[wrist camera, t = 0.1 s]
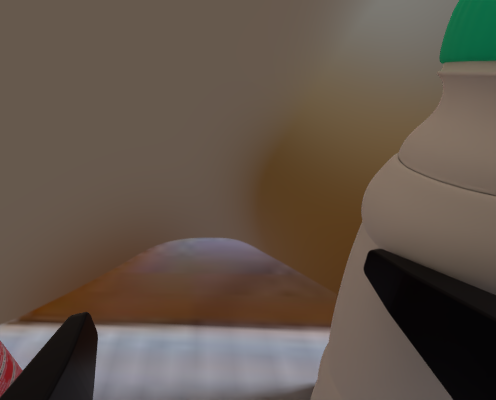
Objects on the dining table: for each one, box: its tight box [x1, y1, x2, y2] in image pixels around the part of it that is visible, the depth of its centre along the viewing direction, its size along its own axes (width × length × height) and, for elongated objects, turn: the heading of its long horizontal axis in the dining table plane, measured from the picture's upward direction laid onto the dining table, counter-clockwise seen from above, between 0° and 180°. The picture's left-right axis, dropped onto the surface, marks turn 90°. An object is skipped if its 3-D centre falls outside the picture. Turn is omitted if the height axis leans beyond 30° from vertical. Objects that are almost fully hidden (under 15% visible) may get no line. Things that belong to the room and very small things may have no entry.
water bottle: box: [310, 0, 496, 400], centre depth 12 cm, size 7×7×25 cm
